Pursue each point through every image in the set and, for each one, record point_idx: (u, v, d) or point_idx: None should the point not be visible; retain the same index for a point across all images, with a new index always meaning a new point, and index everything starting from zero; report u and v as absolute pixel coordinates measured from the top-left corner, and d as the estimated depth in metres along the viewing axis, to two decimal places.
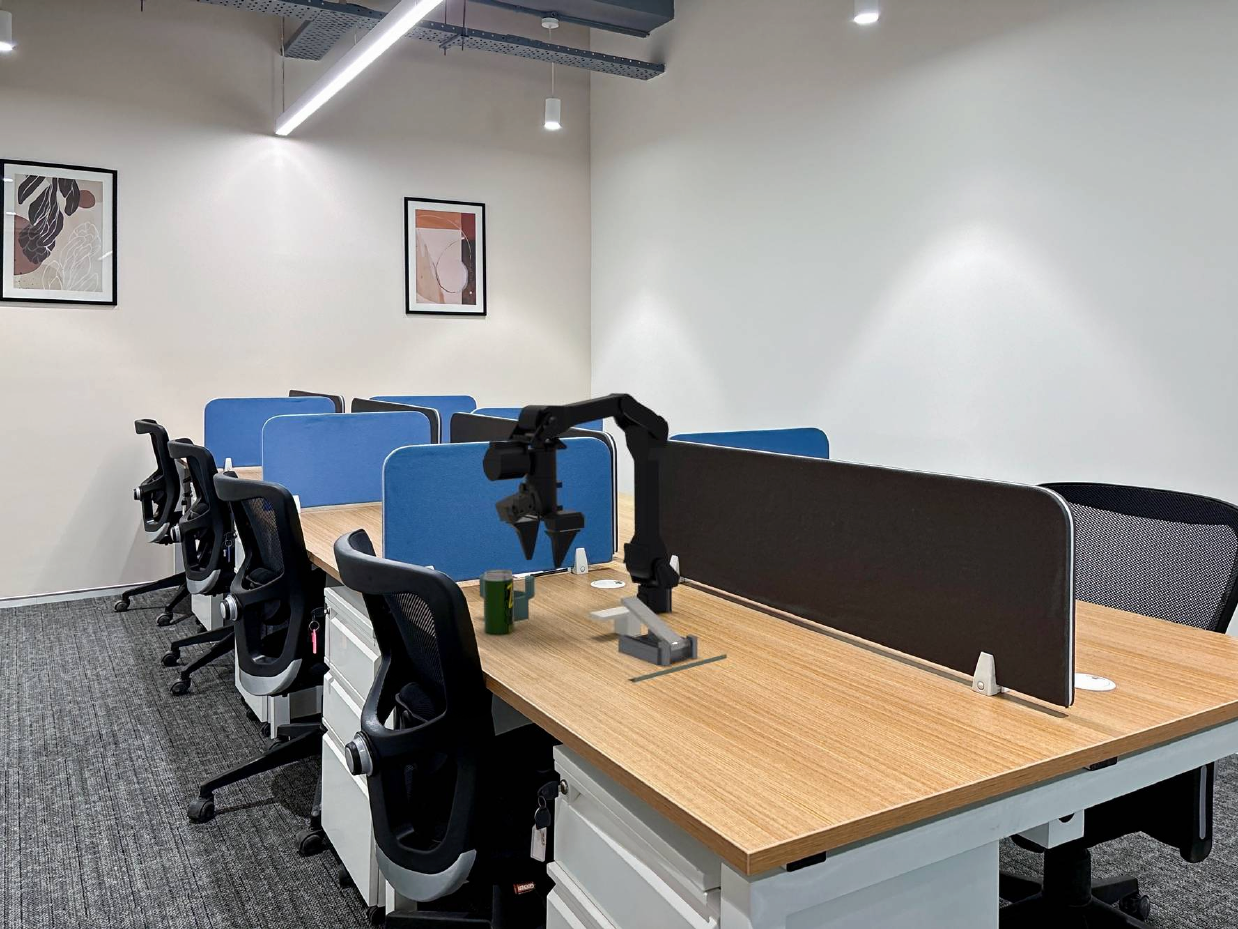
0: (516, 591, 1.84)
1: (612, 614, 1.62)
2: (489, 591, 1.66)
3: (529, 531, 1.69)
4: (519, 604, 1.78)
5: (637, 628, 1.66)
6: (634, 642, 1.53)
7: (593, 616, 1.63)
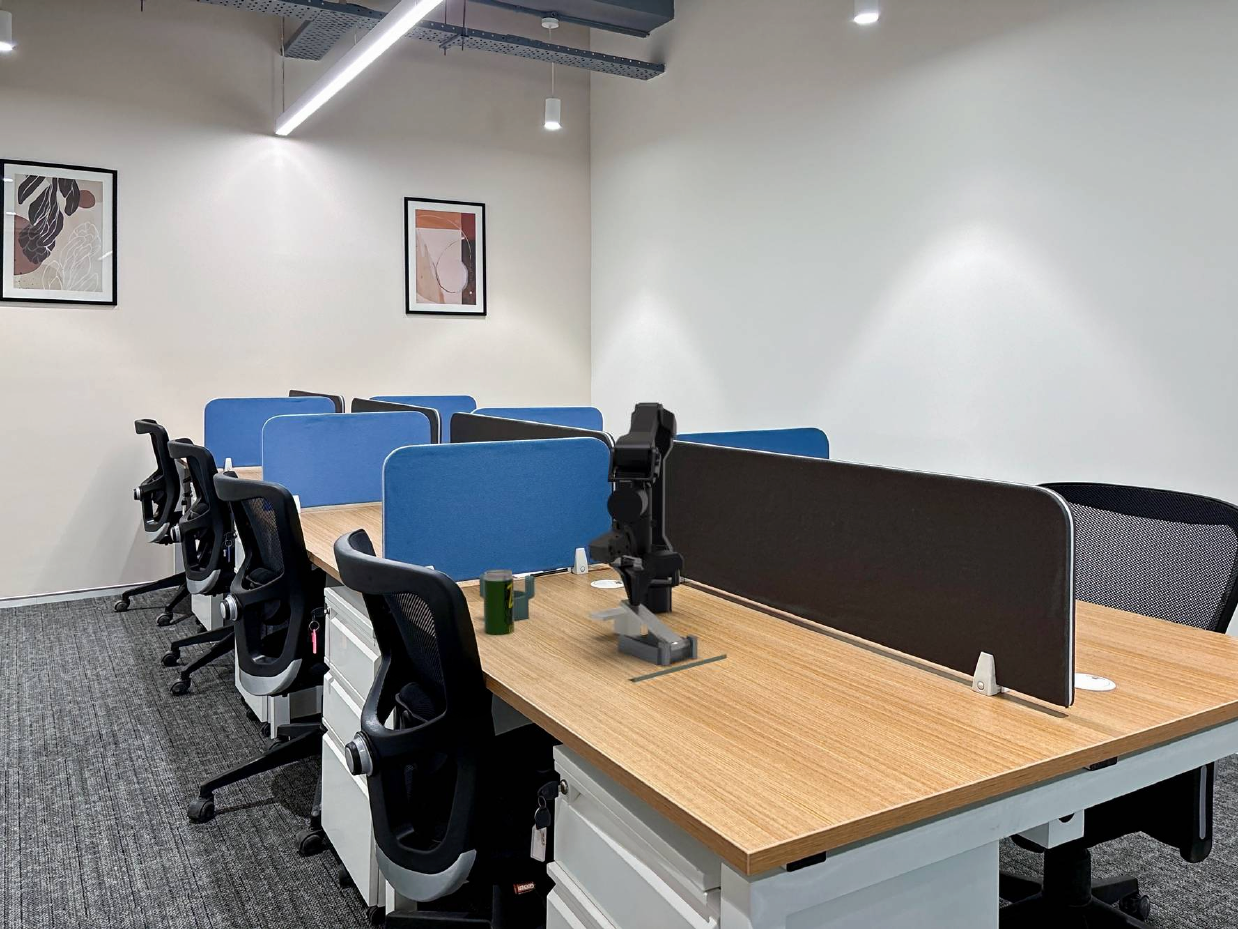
0: (516, 591, 1.84)
1: (612, 614, 1.62)
2: (489, 591, 1.66)
3: None
4: (519, 604, 1.78)
5: (637, 628, 1.66)
6: (634, 642, 1.53)
7: (593, 616, 1.63)
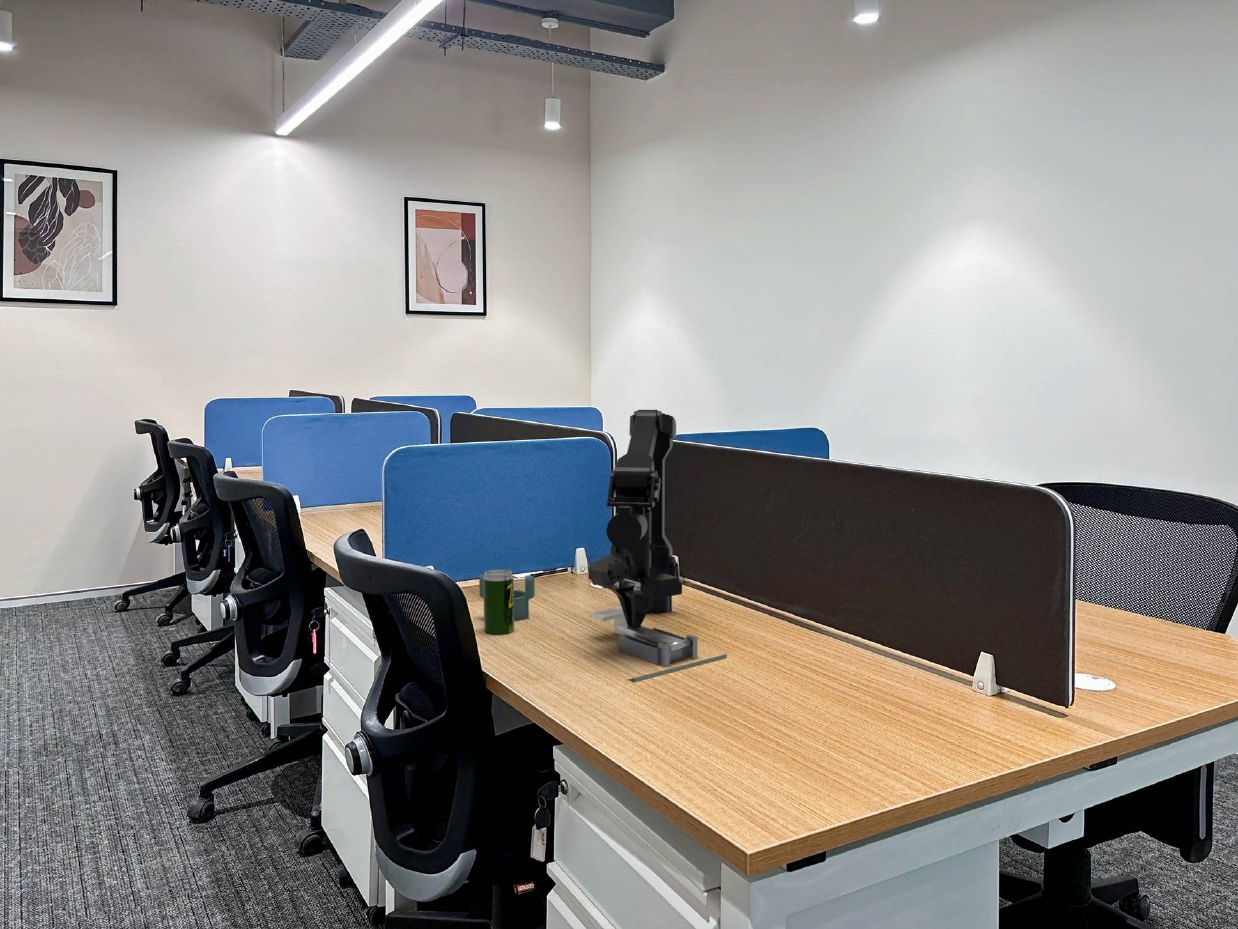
0: (516, 591, 1.84)
1: (612, 614, 1.62)
2: (489, 591, 1.66)
3: None
4: (519, 604, 1.78)
5: None
6: (634, 642, 1.53)
7: (593, 616, 1.63)
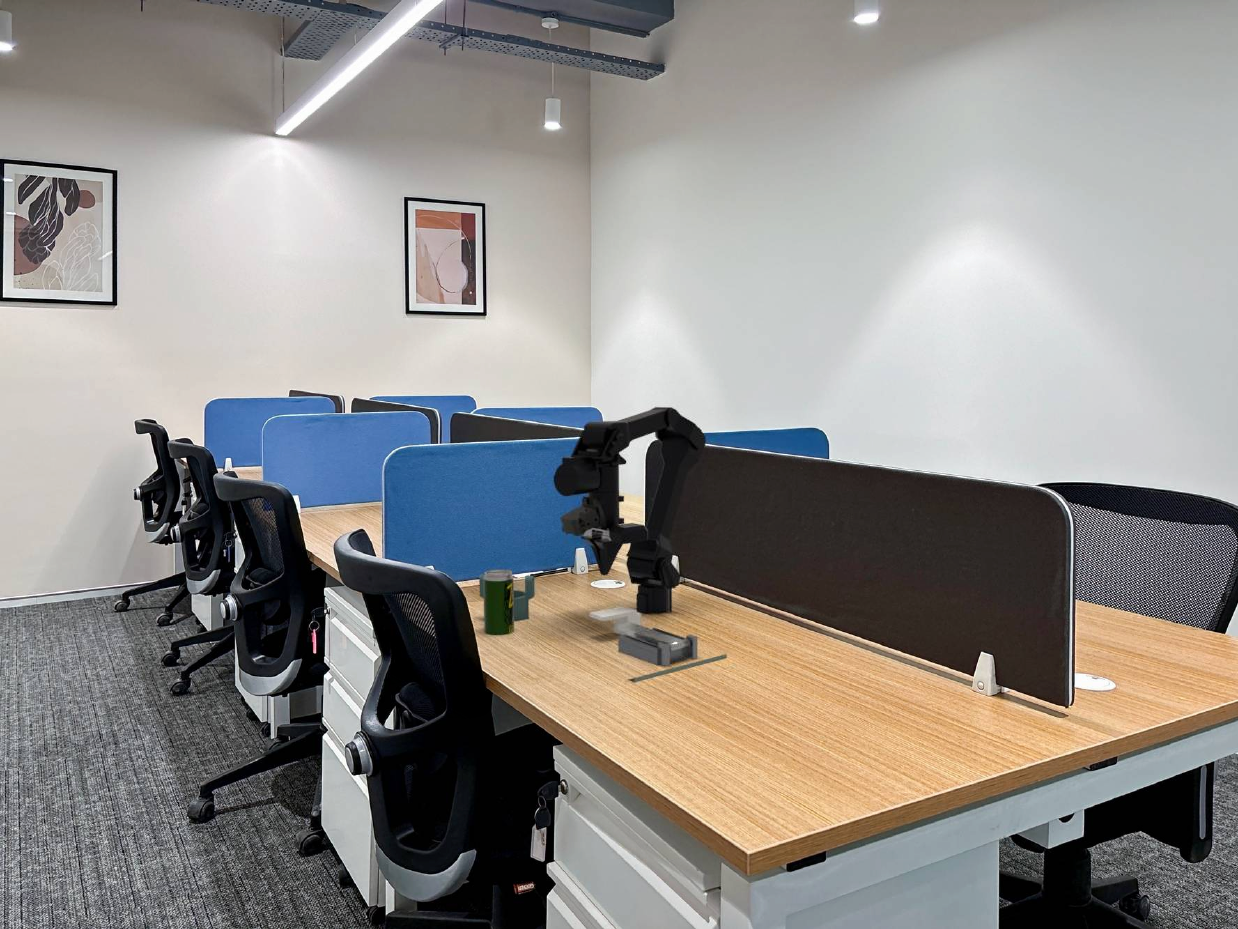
0: (516, 591, 1.84)
1: (612, 614, 1.62)
2: (489, 591, 1.66)
3: None
4: (519, 604, 1.78)
5: None
6: (634, 642, 1.53)
7: (593, 616, 1.63)
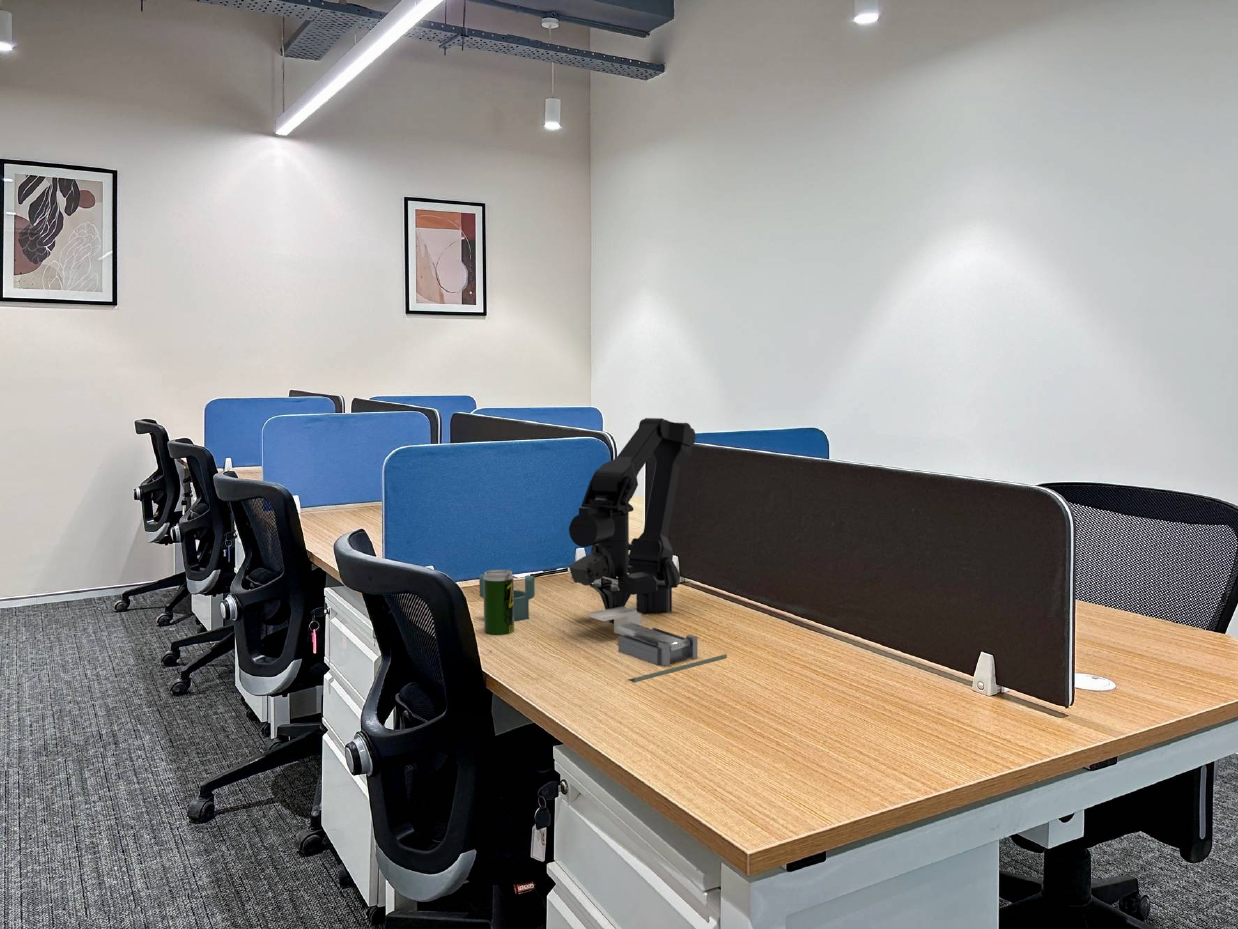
0: (516, 591, 1.84)
1: (612, 614, 1.62)
2: (489, 591, 1.66)
3: None
4: (519, 604, 1.78)
5: None
6: (634, 642, 1.53)
7: (593, 616, 1.63)
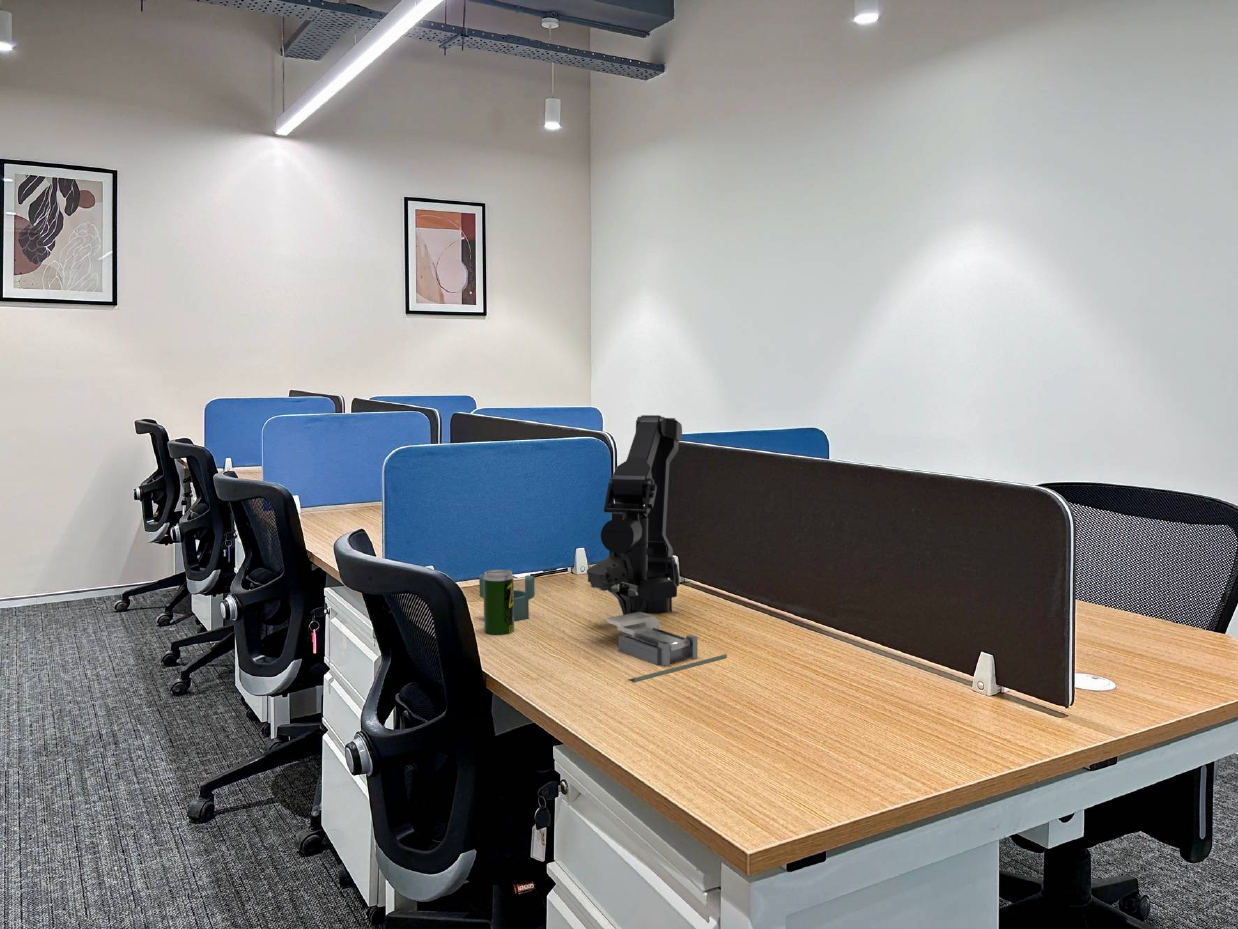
0: (516, 591, 1.84)
1: (630, 620, 1.59)
2: (489, 591, 1.66)
3: None
4: (519, 604, 1.78)
5: None
6: (634, 642, 1.53)
7: (610, 622, 1.59)
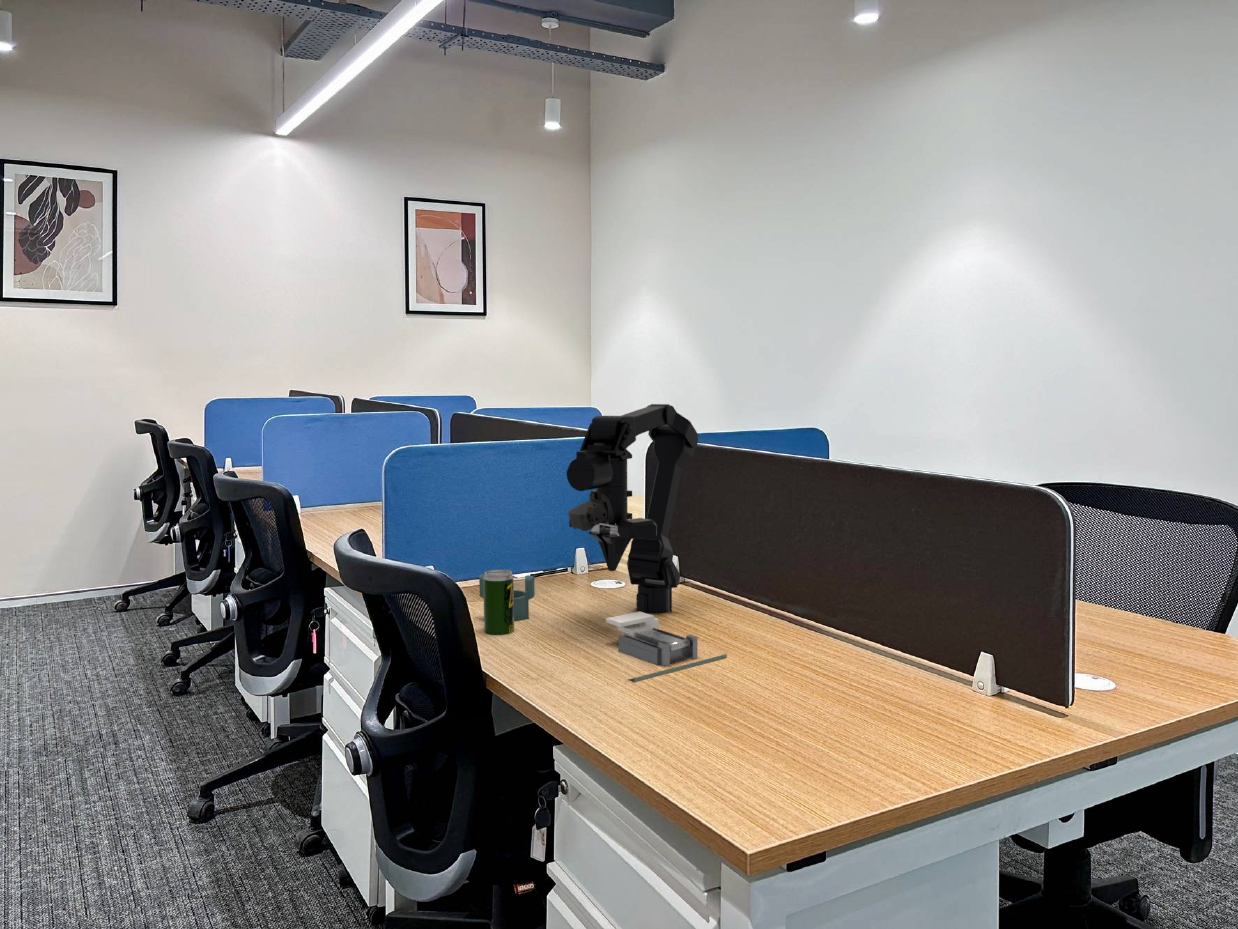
0: (516, 591, 1.84)
1: (629, 620, 1.59)
2: (489, 591, 1.66)
3: None
4: (519, 604, 1.78)
5: None
6: (634, 642, 1.53)
7: (610, 622, 1.59)
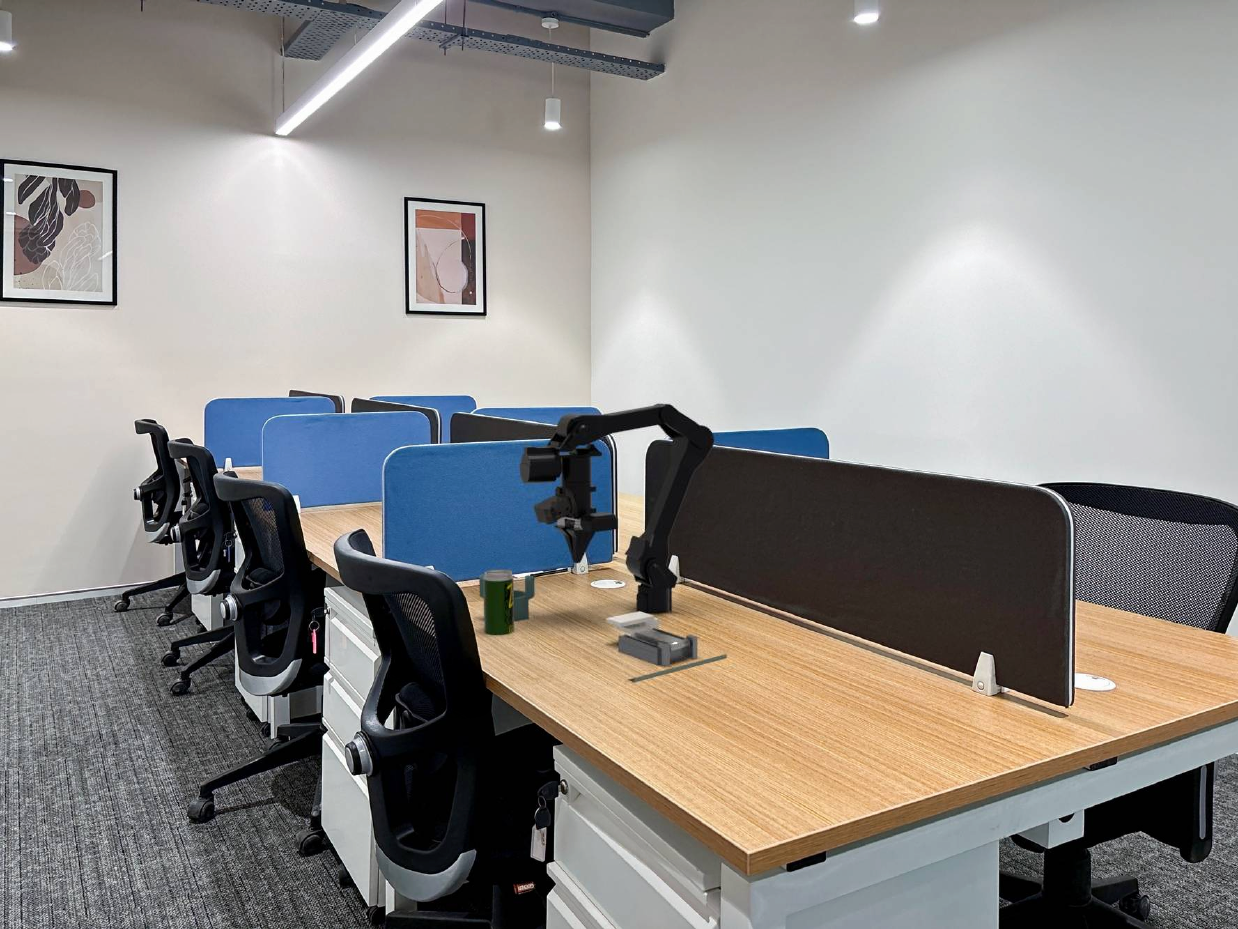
0: (516, 591, 1.84)
1: (629, 620, 1.59)
2: (489, 591, 1.66)
3: None
4: (519, 604, 1.78)
5: None
6: (634, 642, 1.53)
7: (610, 622, 1.59)
